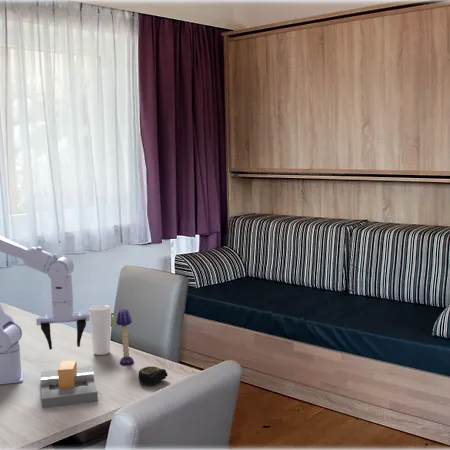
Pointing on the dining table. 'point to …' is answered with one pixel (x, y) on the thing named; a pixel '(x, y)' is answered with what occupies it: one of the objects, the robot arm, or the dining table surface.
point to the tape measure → (151, 375)
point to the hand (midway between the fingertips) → (64, 347)
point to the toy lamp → (125, 335)
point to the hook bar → (77, 378)
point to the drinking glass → (100, 328)
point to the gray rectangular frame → (68, 391)
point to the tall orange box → (67, 374)
